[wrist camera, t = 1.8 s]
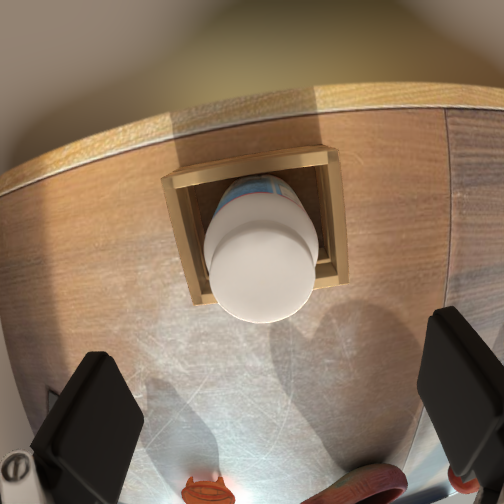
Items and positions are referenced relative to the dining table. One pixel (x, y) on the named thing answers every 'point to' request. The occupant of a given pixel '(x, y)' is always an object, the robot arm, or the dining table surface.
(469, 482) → the fruit
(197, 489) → the pot
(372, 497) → the bowl
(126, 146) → the dining table surface
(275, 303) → the pill bottle
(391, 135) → the dining table surface
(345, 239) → the crate
